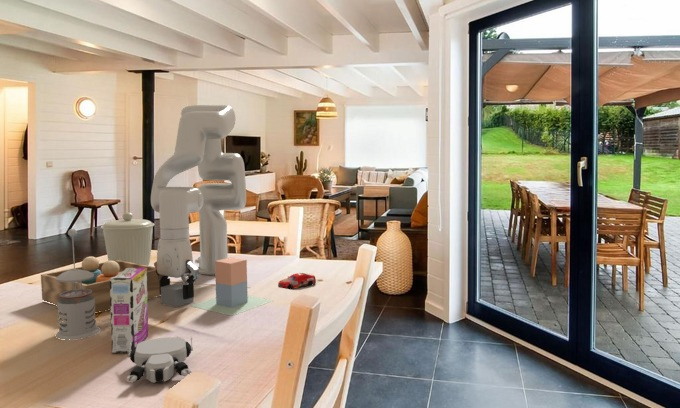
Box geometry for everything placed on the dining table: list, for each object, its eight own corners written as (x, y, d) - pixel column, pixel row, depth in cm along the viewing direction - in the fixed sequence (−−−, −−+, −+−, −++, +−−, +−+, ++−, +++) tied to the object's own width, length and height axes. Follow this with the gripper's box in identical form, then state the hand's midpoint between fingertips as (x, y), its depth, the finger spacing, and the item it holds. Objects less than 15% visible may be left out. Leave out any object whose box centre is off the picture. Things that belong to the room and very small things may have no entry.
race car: (283, 292, 159) (283, 279, 159) (274, 288, 163) (274, 276, 163) (318, 285, 167) (318, 273, 167) (309, 281, 171) (309, 270, 171)
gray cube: (161, 308, 142) (160, 287, 141) (179, 303, 147) (178, 282, 146) (175, 312, 139) (175, 290, 138) (193, 306, 144) (192, 285, 143)
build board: (189, 310, 140) (189, 305, 140) (232, 296, 153) (232, 292, 153) (232, 320, 131) (231, 315, 131) (273, 304, 145) (273, 300, 145)
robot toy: (194, 387, 96) (192, 352, 110) (193, 365, 95) (192, 332, 110) (123, 396, 93) (131, 358, 107) (122, 373, 92) (130, 338, 106)
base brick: (216, 304, 141) (215, 282, 141) (232, 298, 146) (231, 278, 146) (231, 307, 138) (231, 285, 138) (247, 302, 143) (247, 281, 143)
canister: (150, 262, 201) (148, 208, 199) (161, 271, 186) (158, 213, 184) (100, 267, 192) (97, 211, 190) (106, 277, 176) (103, 216, 174)
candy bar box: (135, 353, 110) (132, 278, 108) (111, 354, 110) (107, 278, 108) (150, 335, 121) (147, 266, 119) (128, 335, 121) (125, 266, 119)
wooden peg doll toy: (155, 293, 158) (154, 253, 156) (112, 309, 142) (110, 264, 140) (110, 287, 164) (108, 249, 163) (63, 302, 148) (61, 259, 147)
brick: (215, 282, 141) (214, 261, 140) (231, 278, 146) (231, 257, 145) (231, 285, 138) (230, 263, 137) (247, 281, 143) (246, 259, 142)
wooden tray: (42, 302, 148) (40, 274, 147) (118, 284, 168) (117, 259, 167) (87, 315, 135) (86, 286, 135) (164, 294, 155) (163, 268, 154)
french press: (52, 342, 116) (45, 233, 114) (57, 327, 127) (51, 226, 124) (100, 336, 120) (94, 230, 118) (101, 321, 131) (96, 224, 128)
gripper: (143, 233, 142) (145, 294, 144) (185, 238, 133) (186, 303, 134) (165, 230, 149) (167, 288, 150) (207, 235, 139) (208, 297, 141)
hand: (176, 295), depth 142 cm, fingers open, 9 cm apart
